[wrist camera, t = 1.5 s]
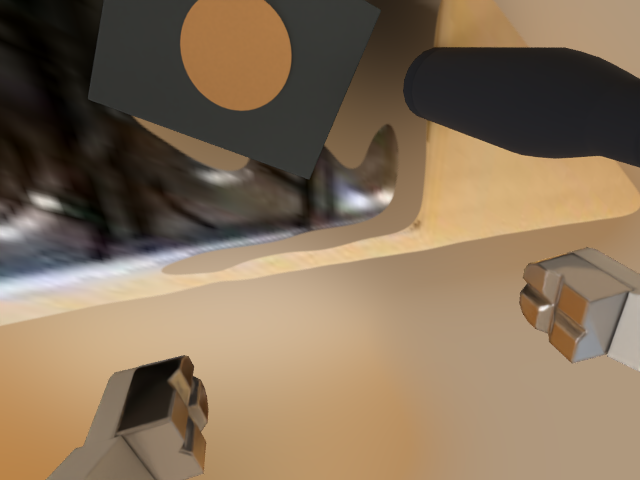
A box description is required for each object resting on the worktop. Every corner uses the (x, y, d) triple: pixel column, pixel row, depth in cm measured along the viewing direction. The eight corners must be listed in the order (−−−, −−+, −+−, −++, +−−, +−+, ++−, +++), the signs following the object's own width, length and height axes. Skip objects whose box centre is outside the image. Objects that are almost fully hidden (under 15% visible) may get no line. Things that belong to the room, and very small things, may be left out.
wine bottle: (389, 86, 34) (869, 206, 8) (440, 30, 33) (1205, -32, 7) (427, 131, 37) (869, 326, 11) (475, 82, 36) (1104, 175, 10)
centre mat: (129, -138, 24) (126, -143, 23) (379, 10, 31) (382, 9, 30) (90, 98, 30) (87, 99, 29) (308, 177, 37) (309, 180, 36)
